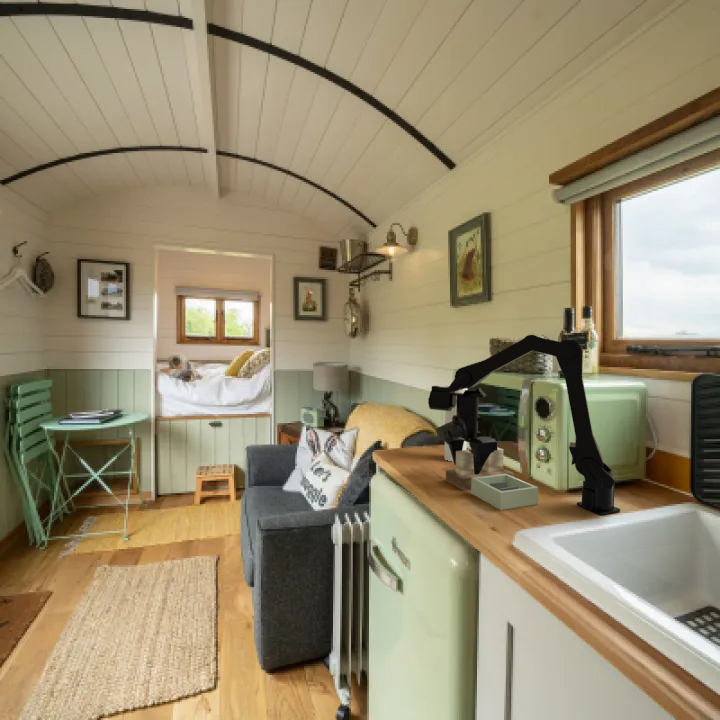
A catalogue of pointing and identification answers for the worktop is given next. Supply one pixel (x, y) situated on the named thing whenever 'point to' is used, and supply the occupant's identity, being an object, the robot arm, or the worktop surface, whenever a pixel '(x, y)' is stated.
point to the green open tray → (504, 491)
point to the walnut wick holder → (469, 477)
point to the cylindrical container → (447, 420)
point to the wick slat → (494, 461)
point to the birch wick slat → (464, 463)
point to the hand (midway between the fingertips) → (466, 469)
